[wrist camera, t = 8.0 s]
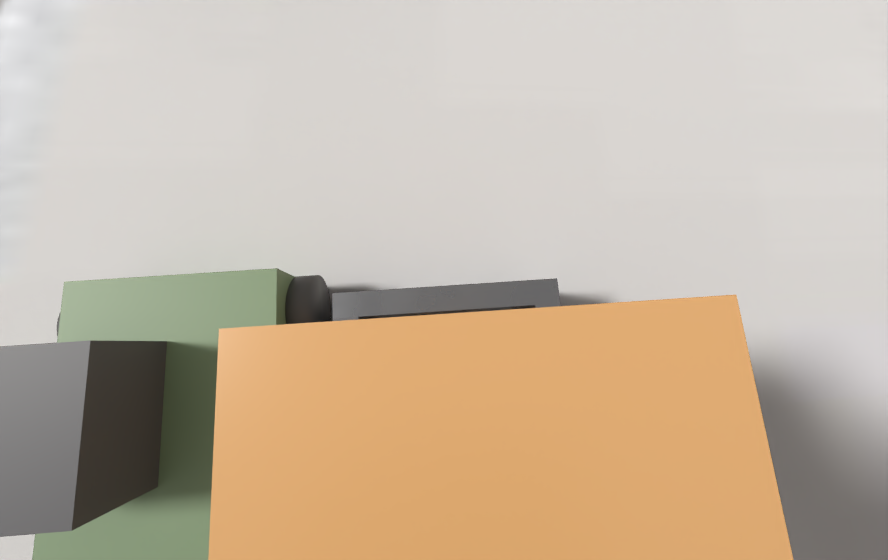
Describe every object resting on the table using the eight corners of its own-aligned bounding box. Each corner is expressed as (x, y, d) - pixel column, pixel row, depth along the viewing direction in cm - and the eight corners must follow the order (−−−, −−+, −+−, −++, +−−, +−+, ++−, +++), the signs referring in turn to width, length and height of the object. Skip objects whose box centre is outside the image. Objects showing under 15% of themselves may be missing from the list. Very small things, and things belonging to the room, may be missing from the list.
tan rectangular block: (519, 483, 15) (926, 1169, 2) (397, 493, 15) (176, 1267, 2) (505, 335, 16) (736, 294, 4) (391, 343, 16) (218, 328, 3)
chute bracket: (570, 509, 16) (605, 553, 13) (347, 527, 16) (322, 578, 13) (544, 290, 18) (569, 277, 15) (342, 303, 18) (319, 293, 14)
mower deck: (334, 555, 16) (254, 719, 9) (105, 575, 16) (-159, 759, 9) (330, 281, 18) (263, 243, 11) (128, 294, 18) (-70, 263, 11)
